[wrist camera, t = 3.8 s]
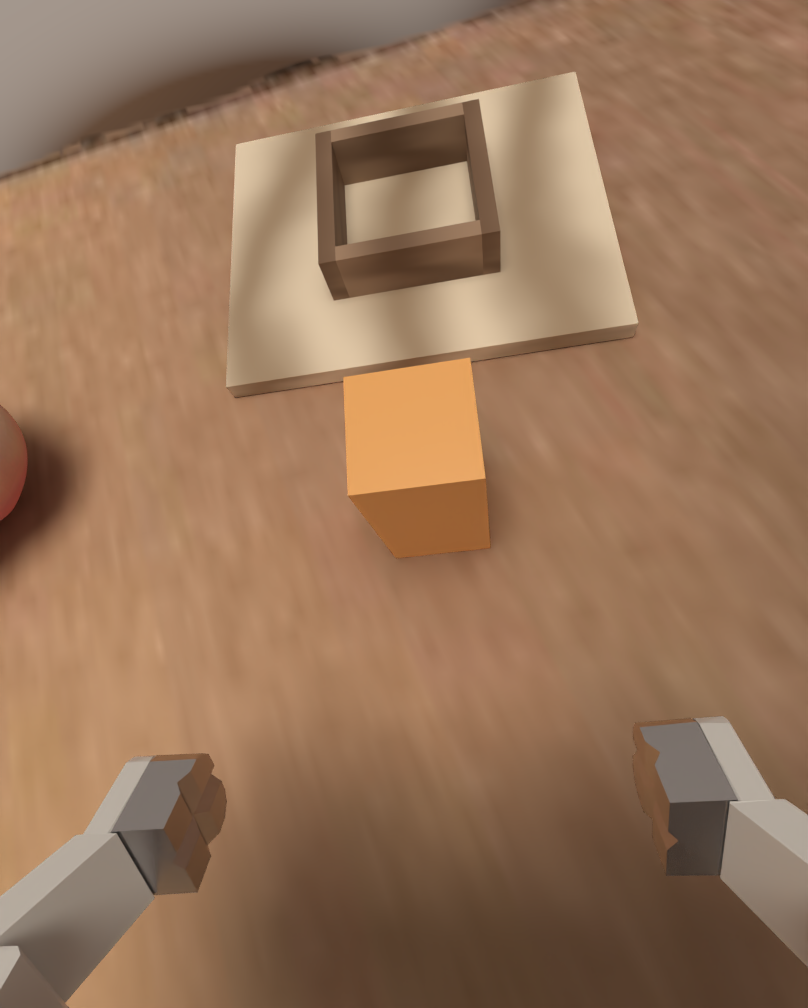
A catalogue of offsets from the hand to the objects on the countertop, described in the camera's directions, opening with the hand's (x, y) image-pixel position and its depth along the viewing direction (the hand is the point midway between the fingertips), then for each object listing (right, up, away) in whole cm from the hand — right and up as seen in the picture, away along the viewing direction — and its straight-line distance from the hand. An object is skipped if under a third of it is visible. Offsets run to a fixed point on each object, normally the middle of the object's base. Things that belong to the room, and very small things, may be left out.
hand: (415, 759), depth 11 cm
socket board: (0, +19, +18) cm, 26 cm away
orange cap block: (+1, +5, +13) cm, 14 cm away
